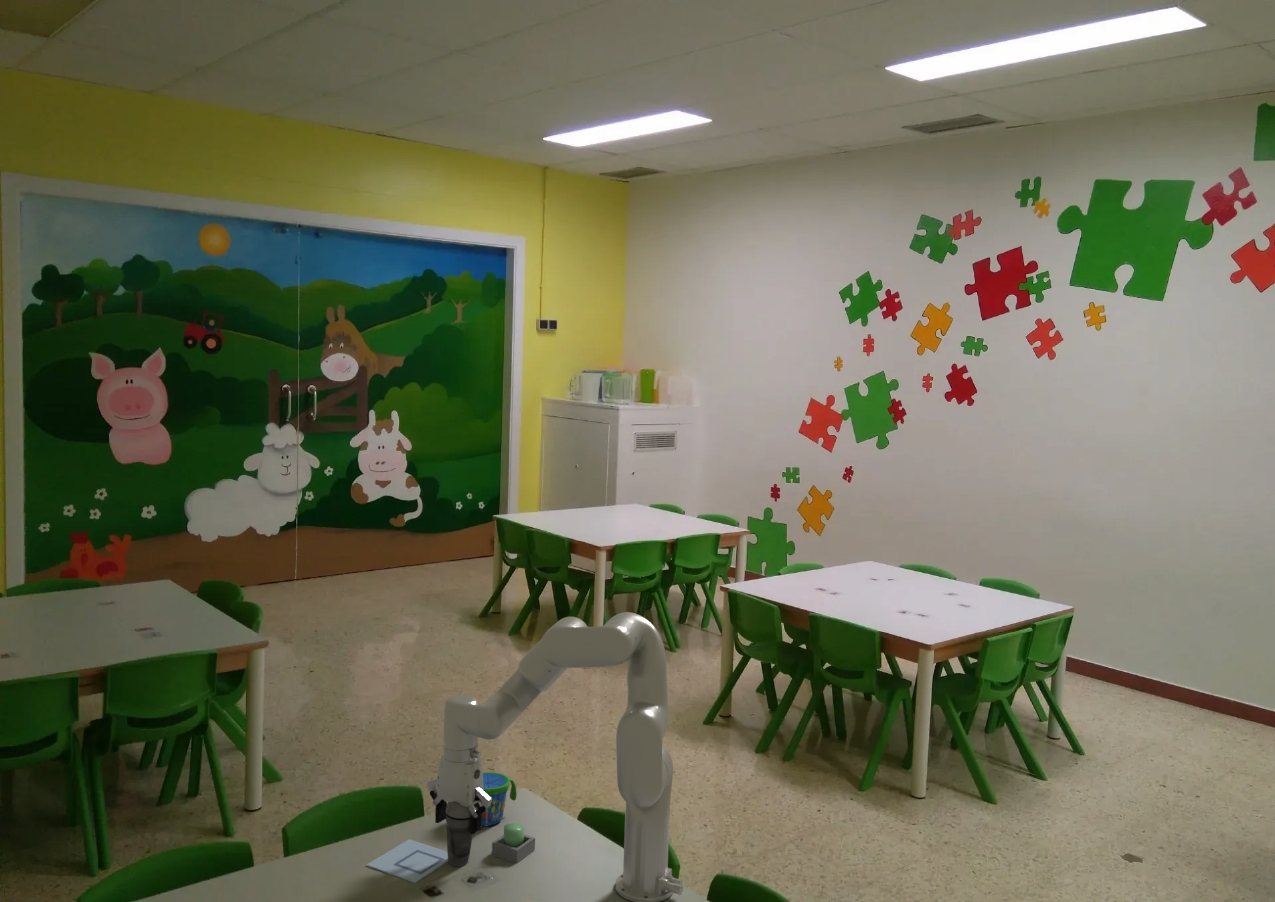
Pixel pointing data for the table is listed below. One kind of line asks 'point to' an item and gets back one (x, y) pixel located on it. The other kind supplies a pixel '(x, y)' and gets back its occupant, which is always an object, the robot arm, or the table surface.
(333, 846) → the table surface
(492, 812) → the snack cup
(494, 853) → the button housing
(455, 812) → the beverage cup
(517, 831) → the button
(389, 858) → the paper
